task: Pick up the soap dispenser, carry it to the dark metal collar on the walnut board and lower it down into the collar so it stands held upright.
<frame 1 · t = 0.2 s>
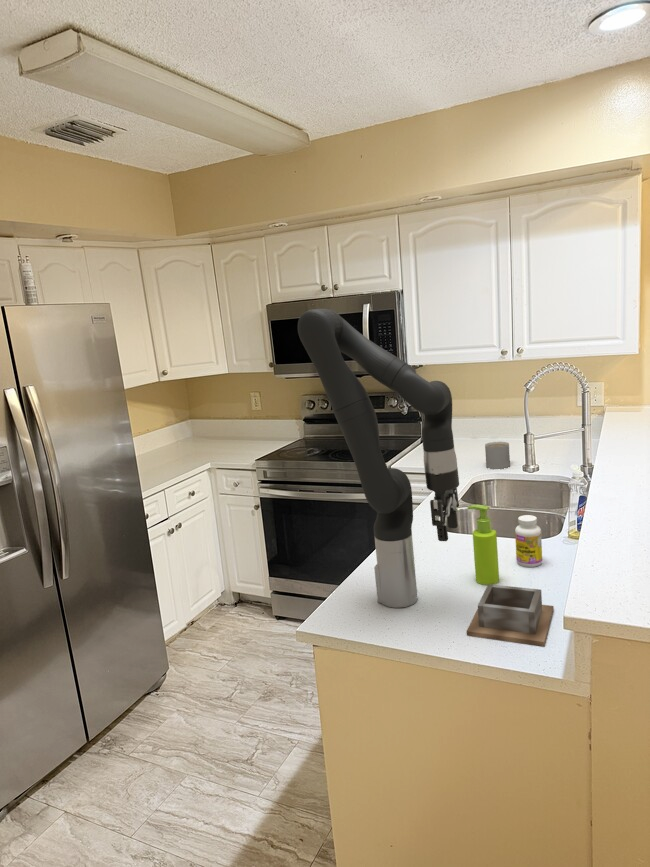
hand: (448, 534, 142), 18 cm above the worktop, tool pointing down, fingers open, 8 cm apart
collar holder: (511, 622, 134), on the worktop
coffee mug: (498, 466, 263), on the worktop
supplement bottle: (529, 563, 163), on the worktop
soap dispenser: (485, 580, 156), on the worktop
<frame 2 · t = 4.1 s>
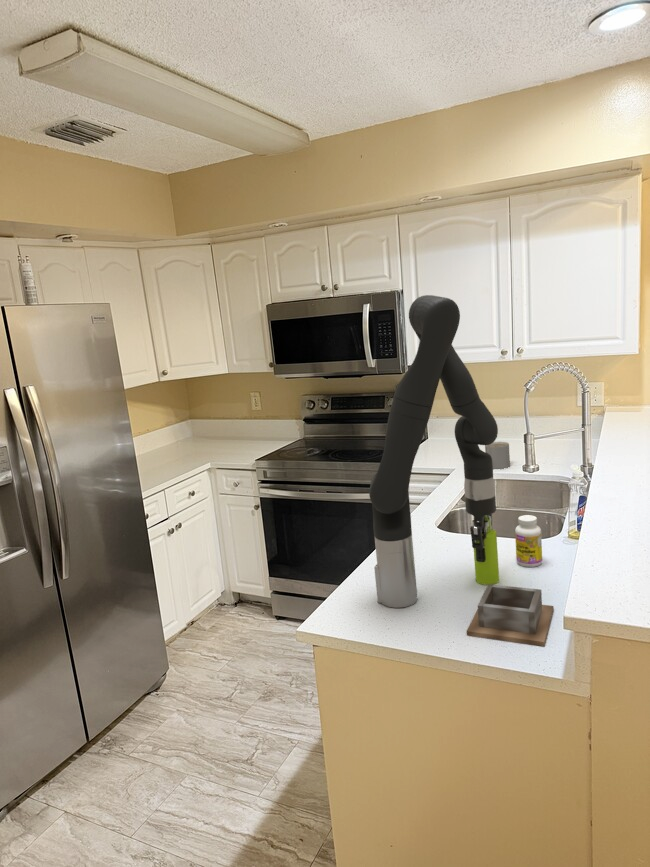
hand: (483, 556, 155), 7 cm above the worktop, tool pointing down, fingers closed on soap dispenser, 6 cm apart
soap dispenser: (485, 580, 156), on the worktop, touching gripper
everything else where it was.
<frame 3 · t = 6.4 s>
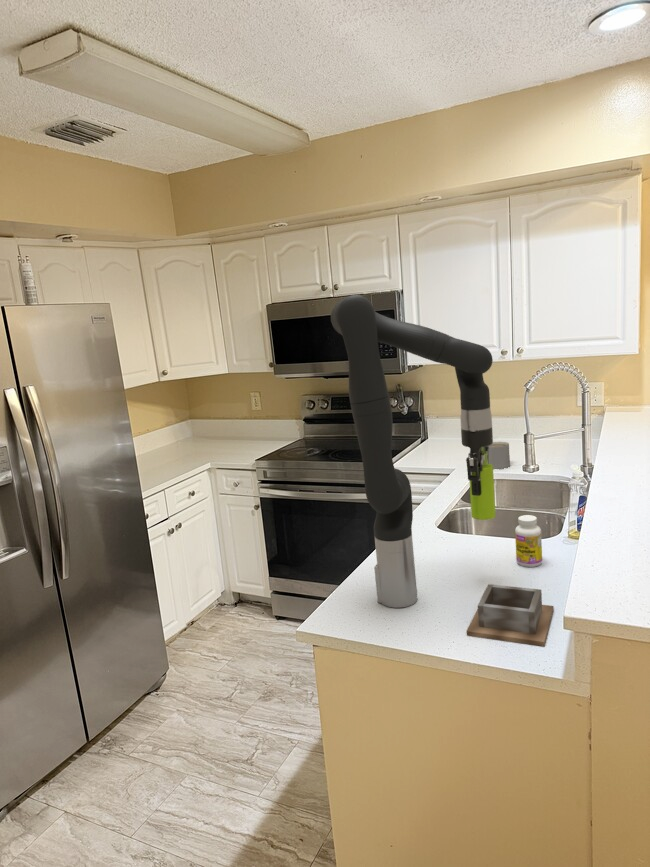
hand: (479, 490, 152), 24 cm above the worktop, tool pointing down, fingers closed on soap dispenser, 6 cm apart
soap dispenser: (481, 516, 153), point 17 cm above the worktop, touching gripper
everything else where it was.
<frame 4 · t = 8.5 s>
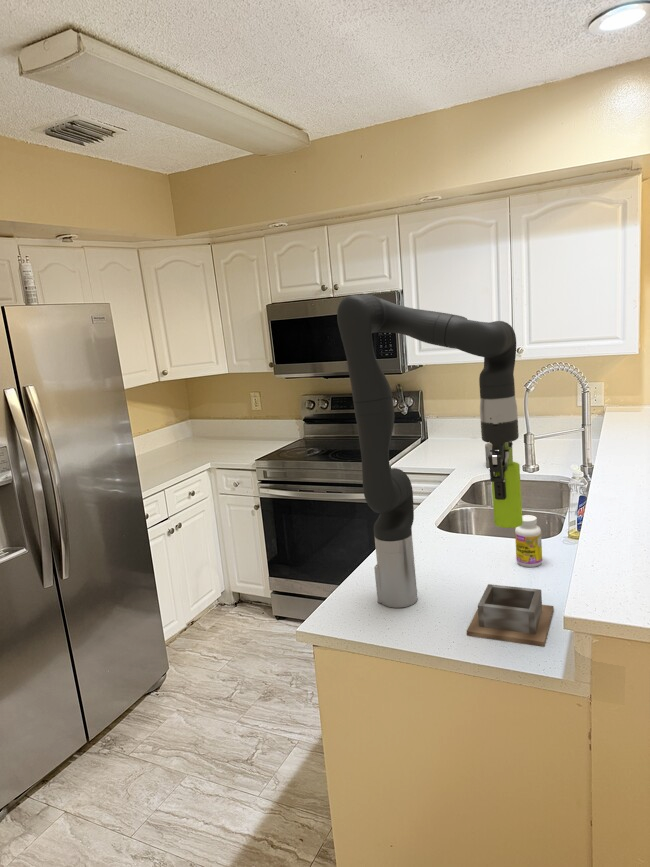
hand: (503, 494, 129), 30 cm above the worktop, tool pointing down, fingers closed on soap dispenser, 6 cm apart
soap dispenser: (506, 523, 131), point 23 cm above the worktop, touching gripper
everything else where it was.
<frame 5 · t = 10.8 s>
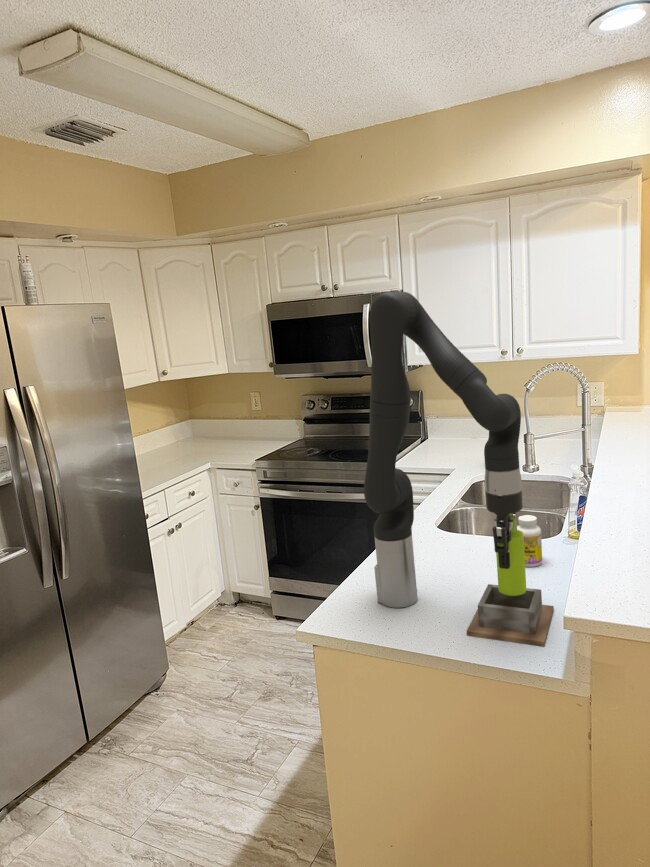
hand: (507, 561, 132), 14 cm above the worktop, tool pointing down, fingers closed on soap dispenser, 6 cm apart
soap dispenser: (510, 590, 133), point 8 cm above the worktop, touching gripper
everything else where it was.
when the fingers open (9 cm above the worktop, at t = 12.8 s): soap dispenser drops 1 cm, resting on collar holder.
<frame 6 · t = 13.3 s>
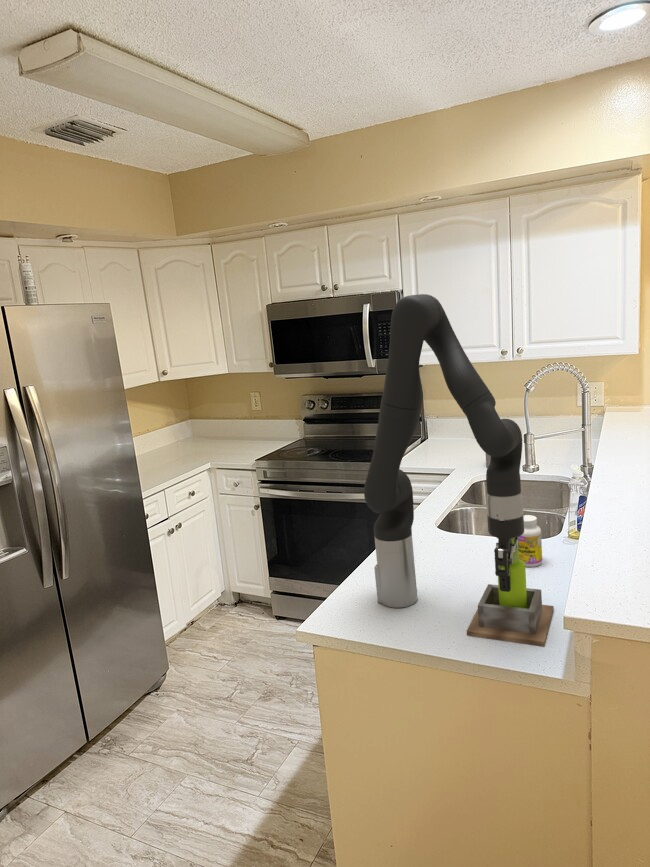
hand: (509, 582, 132), 10 cm above the worktop, tool pointing down, fingers open, 8 cm apart
soap dispenser: (511, 618, 134), point 1 cm above the worktop, touching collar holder
everything else where it was.
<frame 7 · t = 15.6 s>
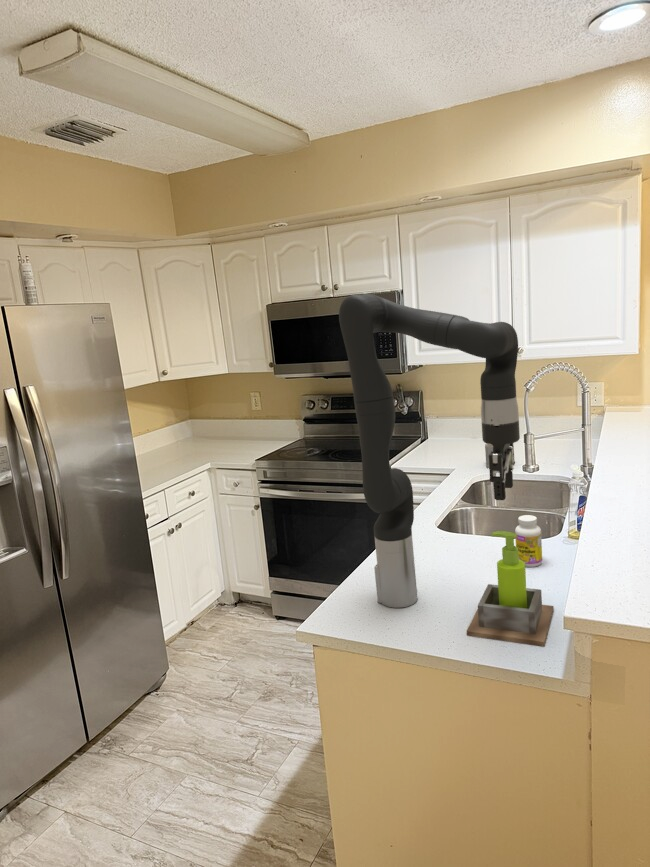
hand: (504, 493, 129), 30 cm above the worktop, tool pointing down, fingers open, 8 cm apart
nothing on the worktop moved.
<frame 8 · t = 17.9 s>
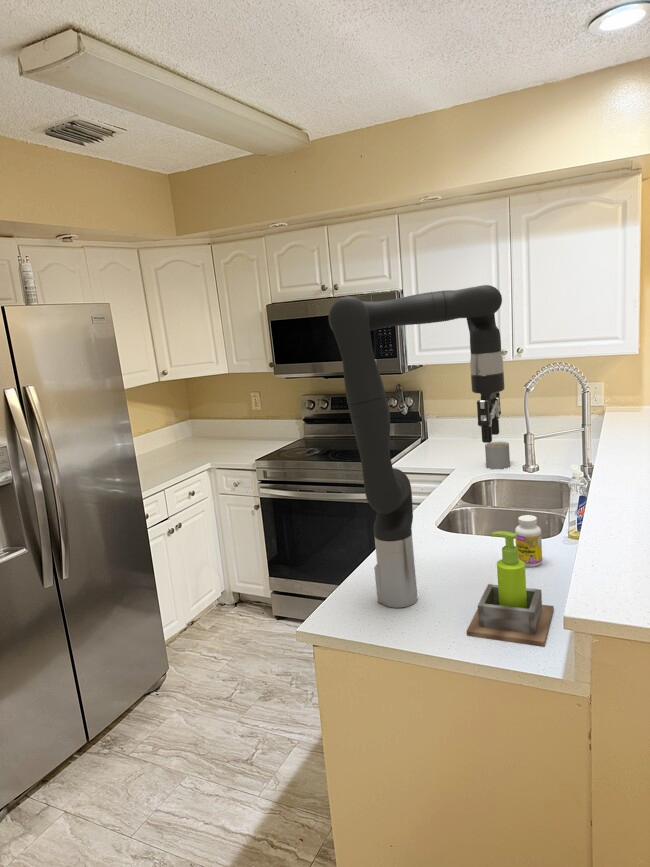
hand: (491, 438, 146), 38 cm above the worktop, tool pointing down, fingers open, 8 cm apart
nothing on the worktop moved.
at the end: soap dispenser 0.1 cm off-centre on the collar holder, point 0.8 cm above the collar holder's base; soap dispenser tilted 0°; the gripper is holding nothing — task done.
